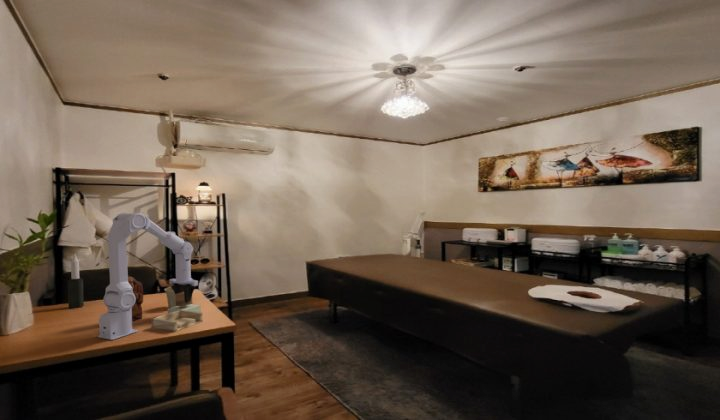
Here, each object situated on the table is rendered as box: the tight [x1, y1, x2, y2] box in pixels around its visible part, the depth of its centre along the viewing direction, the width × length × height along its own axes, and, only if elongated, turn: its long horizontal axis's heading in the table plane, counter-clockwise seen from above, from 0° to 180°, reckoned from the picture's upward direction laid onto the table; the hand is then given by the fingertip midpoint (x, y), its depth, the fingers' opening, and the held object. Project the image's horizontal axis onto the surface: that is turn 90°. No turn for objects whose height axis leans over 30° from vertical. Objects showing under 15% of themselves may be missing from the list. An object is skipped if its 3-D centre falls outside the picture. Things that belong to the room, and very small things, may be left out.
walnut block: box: [175, 292, 193, 307], centre depth 157 cm, size 5×4×5 cm
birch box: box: [150, 310, 203, 333], centre depth 143 cm, size 13×12×4 cm
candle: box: [67, 253, 85, 310], centre depth 172 cm, size 5×5×25 cm
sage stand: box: [167, 303, 202, 314], centre depth 157 cm, size 9×9×3 cm
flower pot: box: [163, 286, 184, 309], centre depth 169 cm, size 9×9×9 cm
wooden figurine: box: [128, 275, 144, 322], centre depth 150 cm, size 12×6×18 cm, turn 140°
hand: (184, 301), depth 157 cm, fingers closed on walnut block, 4 cm apart
